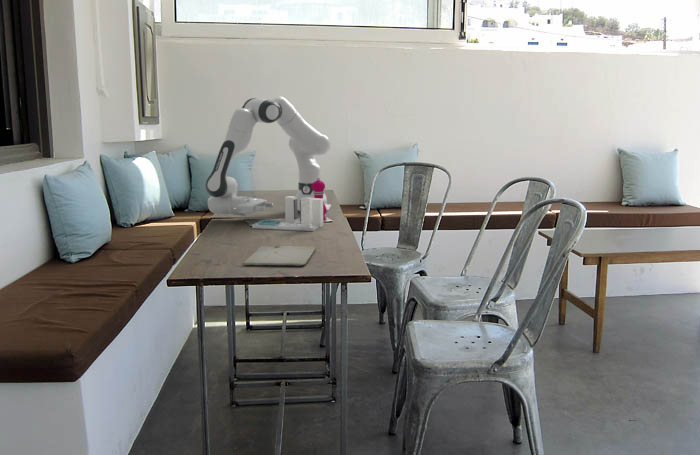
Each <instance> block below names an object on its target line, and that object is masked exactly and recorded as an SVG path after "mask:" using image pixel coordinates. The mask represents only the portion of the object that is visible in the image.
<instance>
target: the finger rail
mask: <svg viewBox="0 0 700 455" xmlns="http://www.w3.org/2000/svg"><path fill="white" fill-rule="evenodd" d="M299 219H300V222H301V223H298V222H297V223H285V222H281V221H280V220H276V219H275V220H274V219H273V220H272V219H263V220H260V221H258V222H255V223H252V224H251V229H259V230H260V229H265V230H279V231H280V230H283V231H284V230H285V231H305V232H315V231H316V230H318V229H319V228H320V227H319V224H313V197H303V198H301V200H300V211H299Z"/></svg>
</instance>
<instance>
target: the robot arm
mask: <svg viewBox="0 0 700 455" xmlns="http://www.w3.org/2000/svg"><path fill="white" fill-rule="evenodd" d="M275 122H276V123H277V124H278V125H279V126H280V127H281V129H282V130H283V131H284V133H285V134H286V135H287V136H288V137H290V138H289V140H288V147H289V150H291V152H292V153H293V155H294V157H295V160H296V163H297V166H298V181H299V182H298V184H297V186H298V187H297V189H298V191H297V192H296V194H295V196H296V199H297V205H298V211H299V212H300V200H301V198H303V197H313V199H314V198H315V197H314V194H313V193H314V192H313V191H314V190H313V188H312V184H313V183H314V182H315V181H317V178H318V177H319V178H320V181H322V179H321V178H322V177H321V176H322V174H321V172H322V170H321V168H322V167H321V166H320V165H319V164H318V162H317V160H316V158H315V157H316V156H317V157H318V156H322V155H326V154H328V152H329V151H330V149H331V141H330V138H329V137H328V136H327V135H325V134H323V133H321V132H319V131H318V130H317V129H316V128H315V127H313V126H312V125H311V124H309V122H307V121H306V120H305V119H304V118H303V116H302V115H301V114H300V113H299V111H298V110H297V109H296V108H295V106H294V105H293V104H292V103H291V102H290V101H289V100H288V99H287V98H286V97H285V96H280V95H279V96H276V97H274V98H272V99H266V98H260V97H259V98H258V97H253V98H249V99H247V100H246V101H245V102H244V104H243V105H242V106H241V107H239V108H236V109H235V110H234V112H233V114H232V117H231V119H230V121H229V124H228V128H227V131H226V134H225V138H224V141H223V142H222V144H221V147H220V149H219V151H218V154H217V157H216V161H215V163H214V165H213V169H212V172H211V173H210V175H209V176H208V177H207V179H206V181H205V190H206V192H207V193H208V194H209V197H208V199H207V208H208V209H209V211H210V212H211V213H213V214H216V215H221V216H228V215H233V216H246V215H248V214H249V215H250V214H254V213H256V212H260V211H261V212H262V211H263V212H264V211H266V210H267V208H271V209H272V208H274V206H275V205H274V203H272V202H268V200H267V199H264V198H263V199H262V198H255V197H252V196H241V195H240V196H238V191H239V183H238V181H237V179H235V177H232V176H228V175H227V174H228V172H229V168H230V164H231V162H232V160H233V158H234V157H235V156H236V155H237V154H239V153H242V152H244V151H245V150H246V149H247V148H248V147H249V145H250V142H251V139H252V135H253V131H254V127H255V126H256V124H257V123H265V124H272V123H275ZM323 201H324V204H325V206H326V209H327V211H329V210H330V208H331V207H332V205H331V204H330V203H329V204H328V202H327V194H326V193H325V192H324V194H323Z"/></svg>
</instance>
